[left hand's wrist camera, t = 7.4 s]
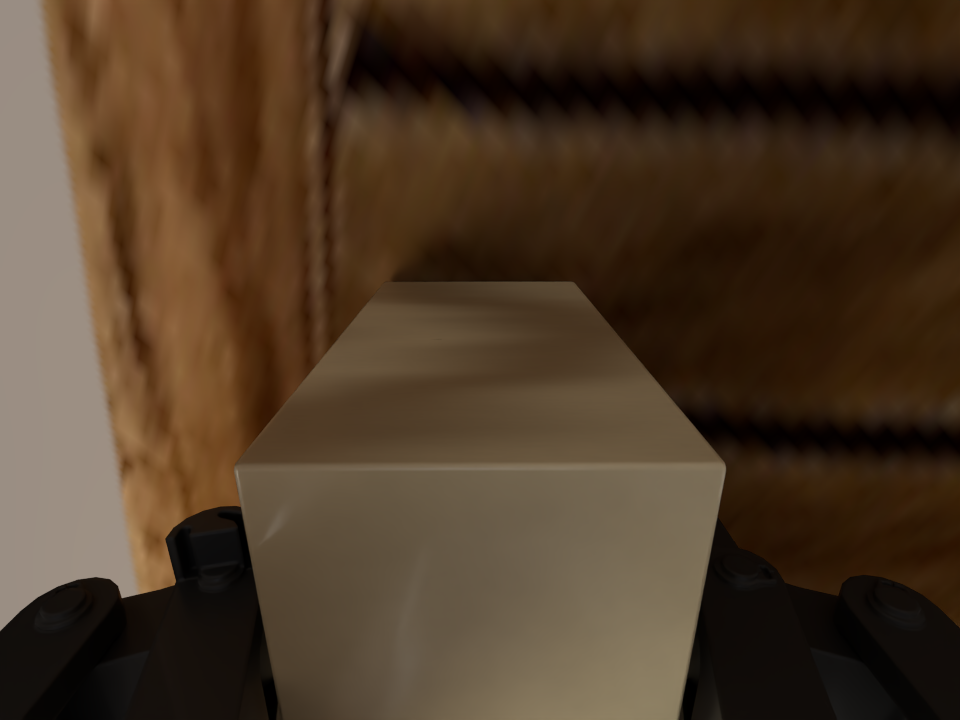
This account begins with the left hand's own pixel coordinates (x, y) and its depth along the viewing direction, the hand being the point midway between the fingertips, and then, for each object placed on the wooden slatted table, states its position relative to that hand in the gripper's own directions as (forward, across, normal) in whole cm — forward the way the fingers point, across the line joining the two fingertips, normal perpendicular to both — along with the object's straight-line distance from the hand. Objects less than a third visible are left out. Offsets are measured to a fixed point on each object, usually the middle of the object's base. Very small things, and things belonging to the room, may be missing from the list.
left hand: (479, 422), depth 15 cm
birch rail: (0, 0, +9) cm, 9 cm away
